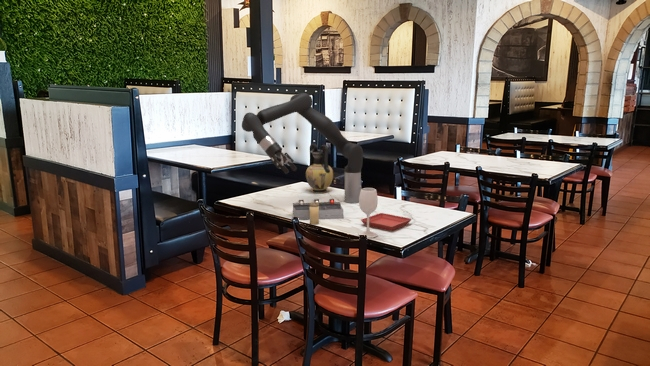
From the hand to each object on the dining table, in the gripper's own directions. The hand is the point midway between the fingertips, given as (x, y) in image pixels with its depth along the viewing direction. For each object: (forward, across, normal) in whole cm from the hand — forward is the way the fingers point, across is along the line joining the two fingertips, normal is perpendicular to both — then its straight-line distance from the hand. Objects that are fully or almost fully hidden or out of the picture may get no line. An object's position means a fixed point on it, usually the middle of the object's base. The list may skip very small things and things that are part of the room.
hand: (291, 171), depth 243 cm
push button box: (+23, +13, +12) cm, 29 cm away
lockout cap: (+26, 0, +9) cm, 27 cm away
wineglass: (+47, -8, -12) cm, 49 cm away
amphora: (+7, +66, +28) cm, 72 cm away
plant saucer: (+50, +11, -14) cm, 53 cm away
